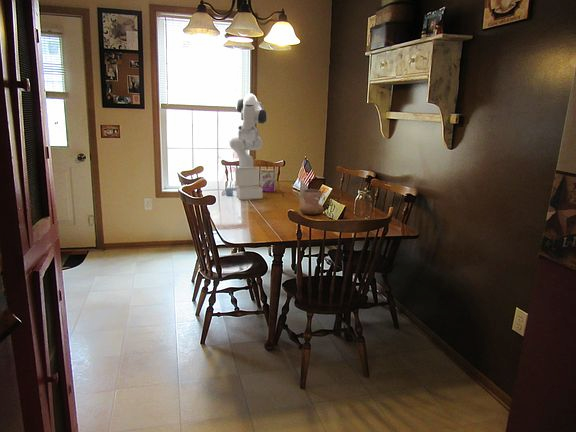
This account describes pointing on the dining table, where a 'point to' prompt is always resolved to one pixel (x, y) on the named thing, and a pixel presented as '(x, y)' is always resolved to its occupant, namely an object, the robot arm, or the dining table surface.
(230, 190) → the blue tapered cylinder
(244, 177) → the lid
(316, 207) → the ceramic jug
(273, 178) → the candy bar box
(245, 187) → the carton
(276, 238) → the dining table surface
